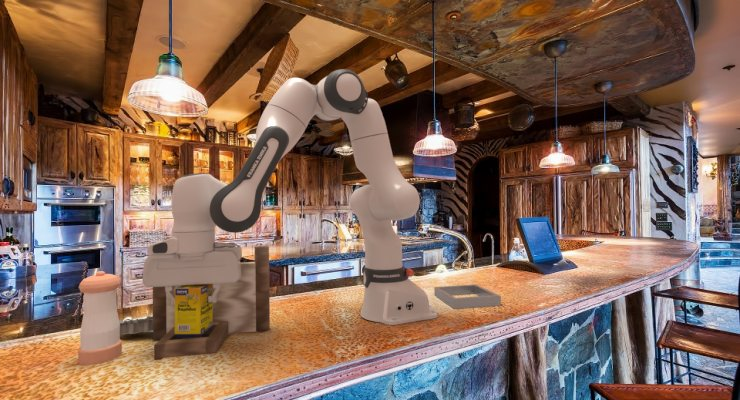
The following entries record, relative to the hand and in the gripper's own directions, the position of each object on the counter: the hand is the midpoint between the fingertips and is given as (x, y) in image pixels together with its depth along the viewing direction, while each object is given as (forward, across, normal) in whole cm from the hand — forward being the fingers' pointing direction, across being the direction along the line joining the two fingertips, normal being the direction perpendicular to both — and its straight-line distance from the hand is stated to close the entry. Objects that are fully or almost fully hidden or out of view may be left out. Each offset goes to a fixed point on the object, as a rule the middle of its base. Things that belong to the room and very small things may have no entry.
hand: (194, 303), depth 77 cm
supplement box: (+7, 0, 0) cm, 7 cm away
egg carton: (+11, +17, -13) cm, 24 cm away
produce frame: (+10, -78, -22) cm, 82 cm away
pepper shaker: (+11, +18, +2) cm, 21 cm away
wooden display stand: (+10, 0, 0) cm, 10 cm away
